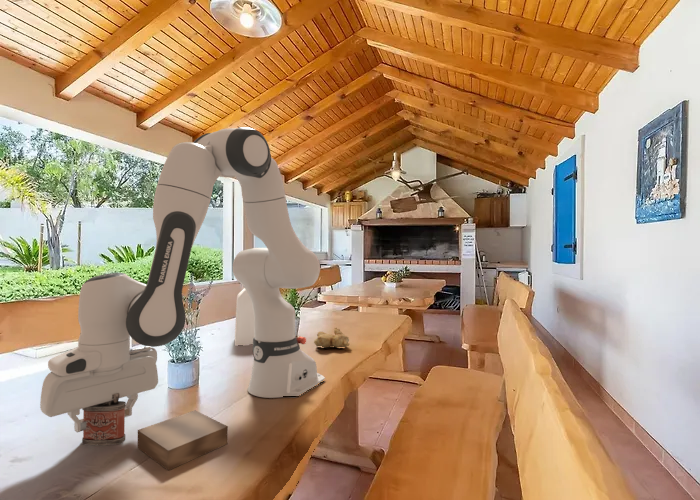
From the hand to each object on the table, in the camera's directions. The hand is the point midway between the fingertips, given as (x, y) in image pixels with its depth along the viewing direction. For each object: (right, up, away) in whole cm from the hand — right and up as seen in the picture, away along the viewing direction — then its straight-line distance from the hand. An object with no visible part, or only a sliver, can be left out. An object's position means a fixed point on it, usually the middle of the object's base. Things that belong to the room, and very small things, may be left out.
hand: (104, 422), depth 79 cm
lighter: (0, -4, 0) cm, 4 cm away
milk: (+8, -3, +83) cm, 83 cm away
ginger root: (+42, -4, +75) cm, 86 cm away
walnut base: (+17, -4, -2) cm, 17 cm away
